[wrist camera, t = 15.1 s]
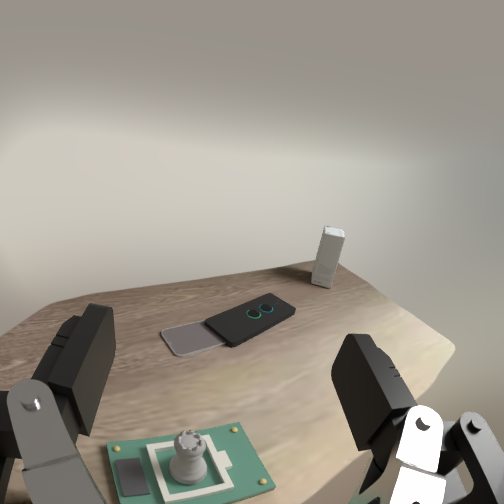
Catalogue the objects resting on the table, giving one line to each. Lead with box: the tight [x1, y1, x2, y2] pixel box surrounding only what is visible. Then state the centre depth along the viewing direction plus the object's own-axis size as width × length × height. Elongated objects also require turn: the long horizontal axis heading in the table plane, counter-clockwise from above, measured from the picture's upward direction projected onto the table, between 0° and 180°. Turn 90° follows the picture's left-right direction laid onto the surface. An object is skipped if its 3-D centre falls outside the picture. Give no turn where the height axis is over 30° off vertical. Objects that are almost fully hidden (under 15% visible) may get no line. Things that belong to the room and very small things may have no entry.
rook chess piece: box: [169, 430, 207, 485], centre depth 27 cm, size 4×4×8 cm
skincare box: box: [311, 226, 345, 288], centre depth 83 cm, size 8×6×15 cm
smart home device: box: [204, 293, 296, 348], centre depth 62 cm, size 8×2×20 cm
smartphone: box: [162, 320, 226, 357], centre depth 55 cm, size 7×1×15 cm
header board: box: [106, 422, 276, 504], centre depth 29 cm, size 18×11×2 cm, turn 115°
